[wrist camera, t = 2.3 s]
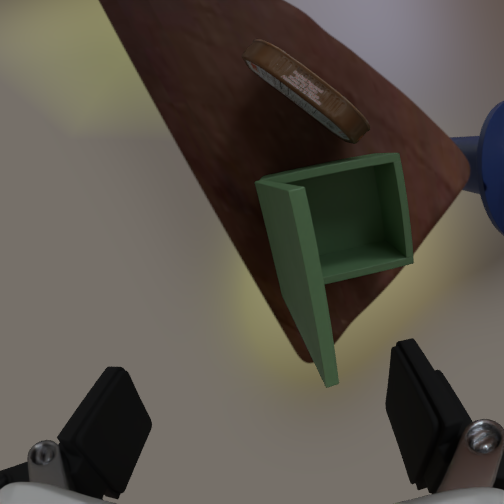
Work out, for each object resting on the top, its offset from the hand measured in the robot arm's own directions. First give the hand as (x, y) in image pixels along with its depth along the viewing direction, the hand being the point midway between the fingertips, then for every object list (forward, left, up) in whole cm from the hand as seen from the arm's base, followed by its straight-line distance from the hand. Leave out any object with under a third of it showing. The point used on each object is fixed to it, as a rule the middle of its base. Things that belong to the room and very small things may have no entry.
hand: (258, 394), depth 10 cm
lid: (-2, 0, -13) cm, 13 cm away
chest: (-7, 0, -28) cm, 29 cm away
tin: (-7, -14, -28) cm, 32 cm away
